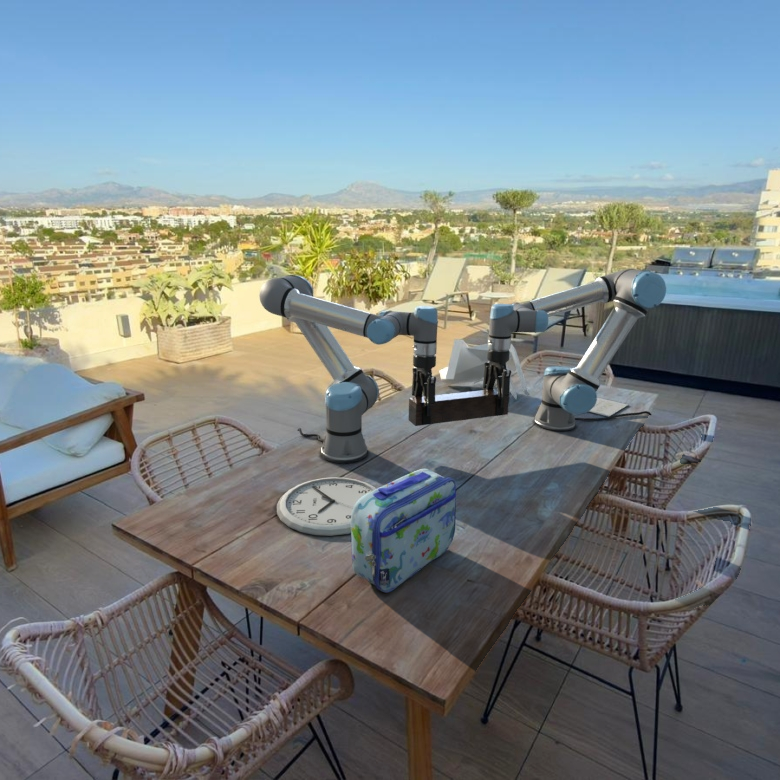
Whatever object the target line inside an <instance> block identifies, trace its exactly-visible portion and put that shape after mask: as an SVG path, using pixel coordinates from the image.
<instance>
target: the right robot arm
mask: <svg viewBox="0 0 780 780" xmlns="http://www.w3.org/2000/svg"><path fill="white" fill-rule="evenodd" d="M666 294H667V285H666V281H665V279H664V278H663V277H662V275H660V274H658V273H656V272H653V271H650V270H643V269H636V268H635V269H634V268H625V269H621V270H618V271H614V272H611V273H609V274H605V275H602V276H599V277H596V279H595V281H592V282H588V283H586V284H582V285H579V286H576V287H573V288H569V289H566V290H563V291H560V292H556V293H553V294H550V295H546V296H543V297H539V298H536V299H532V300H530V301H526V302H522V303H512V304H510V303H494V304H493V305H492V306H491V307H490V313H489V314H490V315H489V329H488V342H487V343H488V348H489V349H488V354H487V359H488V360H489V361H490V362H485V363H484V365H485V371H484V377H483V380H482V381H483V382H482V390H490V389H495V388H494V387H495V384H496V389H498V397H496V398H497V400H496V413H495V416H494V417H500V416H504V415H503V409H504V402H505V398H509V399H510V395H509V393H510V375H511V376H512V370H511V369H509V370H507V369H506V362H507V363H508V362H509V361H510V360H509V355H510V351H509V349H510V345H511V344H512V343H511V342H512V333H535V334H537V333H538V334H539V333H544V332H546V331H547V329H548V326H549V318H550V317H554V316H557V315H560V314H564V313H567V312H570V311H573V310H574V311H575V310H576V309H581V308H584V307H587V306H591V305H594V304H597V303H602V304H607V303H611V302H612V304H613V308H612V310H611V312H610V313H609V315H608V316H607V318H606V320H605V321H604V323H602V326H601V328H600V329H599V331H598V332H597V334H596V336H595V337H594V339H593V340H592V342H591V343H590V345H589V347H588V348H587V350H586V351H585V353H584V355H583V356H582V358H581V360H580V361H579V363H578V364H577V366H576V367H570V366H548V367H546V368H545V370H544V373H543V381H542V382H543V383H542V394H541V402H540V405H537V406H536V410H537V411H536V413H535V417H534V424H535V425H536V426H537V427H539V428H542V429H544V430H549V431H556V432H567V431H572V430H574V429H575V428H576V421H584V422H585V421H586V422H588V421H589V422H591V421H592V422H593V421H594V422H595V421H607V420H613V419H616V418H620V417H621V418H622V417H628V416H640V415H645V414H647V415H648V416H653V414H652V413H651V412H650V411H648V410H643V411H639V412H628V413H626V412H625V413H620V414H615V415H611V416H609V417H608V416H604V417H576V416H577V415H578V416H579V415H583V414H587V413H589V412H588V411H590V410H591V409H592V408H593V407H594V406H595V404H596V401H597V398H598V397H597V395H598V393H597V392H598V390H599V388H600V386H601V382H600V378H601V376H602V375H603V373H604V372H605V370H606V369H607V367H608V366H609V364H610V362H611V361H612V360H613V358H614V356H615V355H616V353H617V351H618V350H619V348H620V347H621V346H622V344H623V343H624V341H625V340H626V338H627V337H628V334H629V333H630V331H632V328H633V327H634V325H635V324H636V323H637V320H638V319H641V318H645V317H646V316H647V314H648V312H649V311H650V309H654V308H655V307H658V306H659V305H660V304H661V303H663V301H664V299H665V297H666Z"/></svg>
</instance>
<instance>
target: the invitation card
mask: <svg viewBox="0 0 780 780" xmlns="http://www.w3.org/2000/svg"><path fill="white" fill-rule="evenodd" d="M628 406H629V404H627V403H623V402H618V401H614V400H609V399H605V398H601V397H597V401H596V404H595V406H594V407H593V408H592V409H591V410H590V411H588V412H587V413H593V414H596V415H600V416H604V417H611V416H614V414H616V413H617V412H619V411H621V410H623V409H624V408H626V407H628Z"/></svg>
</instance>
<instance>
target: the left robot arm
mask: <svg viewBox="0 0 780 780" xmlns="http://www.w3.org/2000/svg"><path fill="white" fill-rule="evenodd" d="M258 296H259V301H260V304H261V306H262V307H263V309H264V310H266V311H267V312H268V313H270V314H272V315H276V316H280V317H282V318H286V319H287V321H288V322H290V323H295V325H296V326H297V328H298V329H299V331H300V332H301V333H302V335H303V336H304V338H305V340H306V341H307V343H308V344H309V346H310V347H311V348H312V350H313V351H314V353H315V354H316V356H317V358H319V361H320V362H321V363H322V365H323V367H324V368H325V369H326V371H327V373H328V374H329V375H330V376H331V377H330V378H332V380H333V384H332V385H330V386H329V387H328V388H327V389H326V391H325V398H324V402H325V430H326V431H325V435H324V439H321V435H320V434H317V433H310V434H309V433H308V434H306V433H303V431H302V428H300V427H299V428H298V429H297V432H299V434H300V435H301V436H302V437H305V438H310V437H316V438H317V440H318V441H319V442H321V443H322V445H321V448H320V453H321V457H322V458H323V459H324V460H325V461H328V462H330V463H337V464H349V463H351V464H352V463H356V462H359V461H361V460H364V459H365V458H366V457H367V456H368V446H367V444H366V439H365V438H364V435H363V430H362V429H363V428H362V421H363V420H362V417H363V415H364V414H365V413H366V412H367V411H369V410H370V409H371V408H373V407H374V406H375V404H376V402H377V401H378V398H379V394H380V388H379V386H378V383H377V381H376V380H375V379H374V378H373V377H372V376H370V375H367V374H365V372H364V371H363V370H362V368H361V367H357V366H355V365H354V363H353V362H352V361H351V359H350V358H349V356H348V354H347V353H346V352H345V351H344V349H343V348H342V346H341V344H340V343H339V341H338V340H337V338H336V337H335V336H334V334H333V332H332V331H331V329H330V328H332V329H336V330H339V331H342V332H346V333H350V334H352V335H353V334H354V335H356V336H359V337H363V338H367V339H368V340H369V341H370V342H371V343H373V344H375V345H385V344H387V343H389V342H391V341H392V340H393V339H395V338H396V337H398V336H409V337H413V345H412V349H413V355H412V366H413V368H412V383H411V384H412V385H411V396H412V397H413V398H414V397H424V405H422V406H423V420H422V424H423V425H422V426H429V425H432V424H431V407H432V406H435V395H436V384H437V383H436V382H437V377H436V376H433V371H432V369H433V368H435V367H436V365H437V356H436V355H437V348H438V326H439V319H438V317H439V316H438V314H439V313H438V309H437V307H434V306H427V305H425V306H423V305H420V306H416V307H414V311H412V312H410V311H409V312H408V311H407V312H406V311H394V310H381V311H380V312H379V313H378V314H374V313H372V312H368V311H364V310H361V309H357V308H355V307H350V306H346V305H343V304H340V303H335V302H333V301H332V302H331V301H328V300H324V299H321V298H318V297H316V296H315V297H314V288H313V286H312V284H311V282H310V281H309V280H308V279H307V278H305V277H303V276H301V275H299V274H298V275H297V274H287V275H284V276H280V277H279V276H278V277H274V278H270V279H267V280H266V281H265V282H263V284H262V286H261V287H260V290H259V294H258Z"/></svg>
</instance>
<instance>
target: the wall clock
mask: <svg viewBox="0 0 780 780" xmlns="http://www.w3.org/2000/svg"><path fill="white" fill-rule="evenodd" d="M376 489H378V487H376V486H374V485H372V484H371V483H369V482H365V481H362V480H359V479H355V478H349V477H338V476H337V477H335V476H333V477H332V476H331V477H322V478H317V479H312V480H307V481H305V482H302V483H299V484H297V485H295V486H293V487H292V488H290V489H288V490H287V491H286V492H285V493H284V494H283V495H281V496H280V498H279V499H278V502H277V503H276V515H277V517H278V518H279V520H280V521H281V522H282V523H283V524H285V525H286V526H287V527H288V528H290V529H293V530H295V531H297V532H299V533H303V534H308V535H312V536H327V537H328V536H329V537H331V536H332V537H333V536H342V535H350V534H351V514H352V510H353V507H354V505H355V504H356V502H357V501H358V500H359V499H360V498H361V497H362V496H364V495H365V494H367V493H370V492H372V491H374V490H376Z"/></svg>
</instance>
